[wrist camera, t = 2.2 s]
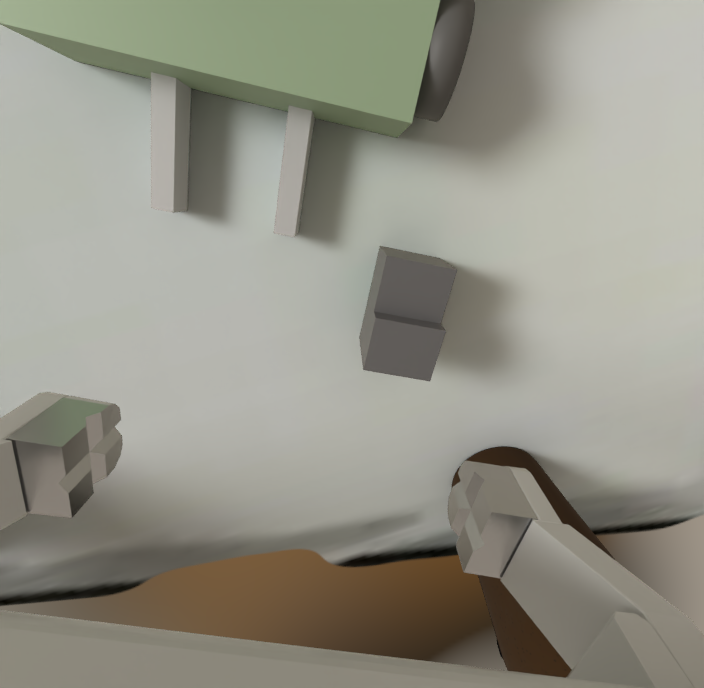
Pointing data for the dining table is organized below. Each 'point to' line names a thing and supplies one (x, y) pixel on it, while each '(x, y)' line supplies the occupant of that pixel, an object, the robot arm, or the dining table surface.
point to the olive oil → (506, 613)
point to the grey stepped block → (405, 314)
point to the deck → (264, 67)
